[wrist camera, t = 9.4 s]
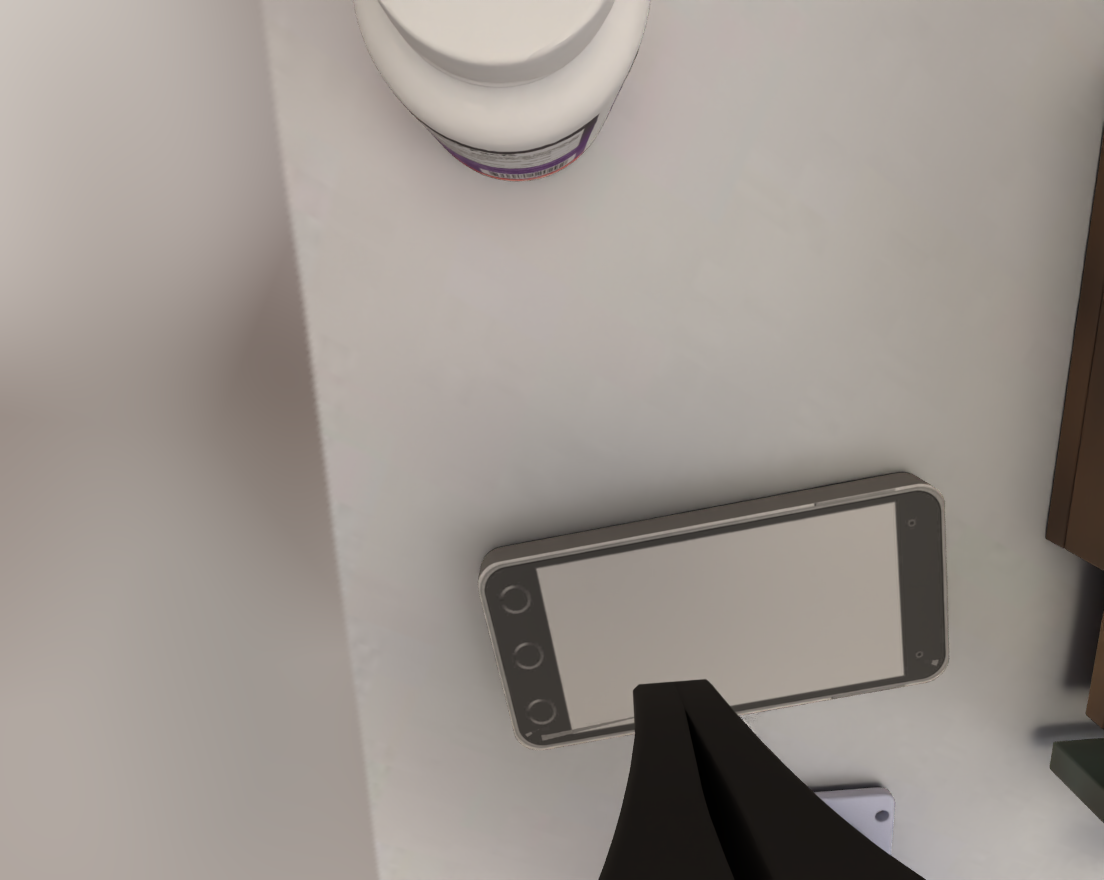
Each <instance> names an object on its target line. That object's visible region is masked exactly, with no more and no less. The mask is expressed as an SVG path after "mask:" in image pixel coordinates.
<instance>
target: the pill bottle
mask: <svg viewBox="0 0 1104 880" xmlns="http://www.w3.org/2000/svg"><path fill="white" fill-rule="evenodd" d="M353 3H354V9H355V13H356V17H357V21H358V25H359V27H360V30H361V33H362V36H363V39H364V42H365V44H366V47H367V49H368V51H369V54H370V56H371V58H372V60H373V62H374V64H375V65H376V67H377V69H378V71H379V72H380V74H381V76H382V77H383V79H384V80H385V82H386V83H387V84H388V86H389V87H390V89H391V90H392V91H393V93H394V94H395V95H396V97H397V98H398V99H399V100H400V101H401V102H402V104H403V105H404V106H405V107H406V108H407V109H408V110H409V111H410V112H411V113H412V114H413V115H414V116H415V117H416V118H417V119H418V120H419V121H420V122H421V123H422V124H423V125H424V126H425V127H426V128H427V129H428V130H429V131H430V132H431V134H432V135H433V136H434V137H435V138H436V139H437V140H438V141H439V142H440V143H441V144H442V145H443V146H444V147H445V148H446V149H447V150H448V151H449V152H450V153H451V154H452V155H453V156H454V157H455V158H457V159H458V160H459V161H460V162H462V163H463V164H465V165H466V166H468V167H470V168H471V169H473V170H475V171H477V172H479V173H481V174H483V175H486V176H489V177H491V178H495V179H499V180H505V181H531V180H536V179H541V178H544V177H547V176H550V175H552V174H554V173H556V172H558V171H560V170H562V169H564V168H565V167H567V166H568V165H570V164H571V163H572V162H574V161H575V160H576V159H577V158H578V157H580V155H581V154H582V153H583V152H584V151H585V150H586V149H587V148H588V147H589V146H590V145H591V143H592V142H593V141H594V139H595V138H596V136H597V135H598V133H599V131H600V130H601V128H602V126H603V124H604V122H605V120H606V118H607V116H608V114H609V112H610V110H611V108H612V106H613V104H614V102H615V100H616V98H617V95H618V93H619V91H620V90H621V88H622V85H623V83H624V81H625V79H626V77H627V75H628V73H629V72H630V69H631V67H632V65H633V62H634V60H635V58H636V56H637V53H638V50H639V46H640V44H641V41H642V38H643V34H644V30H645V27H646V23H647V18H648V13H649V8H650V0H353Z"/></svg>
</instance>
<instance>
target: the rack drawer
mask: <svg viewBox="0 0 1104 880" xmlns="http://www.w3.org/2000/svg"><path fill="white" fill-rule="evenodd" d="M1086 715H1087V716H1088V717H1089V718H1090V719H1091V720H1092V721H1094V722H1095V723H1096V724H1097V725H1098V726H1100V727H1101V728H1102V729H1104V611H1103V617H1102V622H1101V628H1100V634H1099V640H1098V645H1097V651H1096V657H1095V662H1094V668H1093V674H1092V680H1091V685H1090V691H1089V697H1088V702H1087V708H1086ZM1050 769H1051V770H1052V771H1053V772H1054V773H1055V774H1056V775H1057V776H1058V777H1059V778H1060V779H1061V780H1062V782H1063V783H1064V784H1065V785H1066V786H1067V787H1068V788H1069V789H1070V790H1071V791H1072V792H1073V793H1074V794H1075V795H1076V796H1077V797H1078V798H1079V799H1080V800H1081V801H1082V802H1083V803H1084V804H1085V805H1086V806H1087V807H1088V808H1089V809H1090V810H1091V811H1092V812H1093V813H1094V814H1095V815H1096V816H1097V817H1098V818H1099V819H1100V820H1101V821H1102V822H1103V823H1104V738H1098V739H1085V740H1072V741H1059V742H1054V743H1053V749H1052V755H1051V761H1050Z"/></svg>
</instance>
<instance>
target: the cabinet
mask: <svg viewBox="0 0 1104 880" xmlns="http://www.w3.org/2000/svg"><path fill="white" fill-rule="evenodd" d="M1046 539H1047V540H1049V541H1051V542H1053V543H1054V544H1056V545H1058V546H1060V547H1062V548H1065V549H1066V550H1068V551H1069V552H1071V553H1073V554H1075V555H1076V556H1078V557H1080V558H1082V559H1083V560H1085V561H1087V562H1089V563H1091V564H1092V565H1094V566H1096V567H1098V568H1099V569H1101V570H1103V571H1104V134H1103V141H1102V148H1101V155H1100V162H1099V169H1098V176H1097V183H1096V190H1095V197H1094V204H1093V211H1092V218H1091V225H1090V232H1089V239H1088V246H1087V253H1086V260H1085V267H1084V274H1083V281H1082V288H1081V295H1080V302H1079V309H1078V316H1077V323H1076V330H1075V337H1074V344H1073V351H1072V358H1071V365H1070V372H1069V379H1068V386H1067V393H1066V400H1065V407H1064V414H1063V421H1062V428H1061V435H1060V442H1059V449H1058V456H1057V463H1056V470H1055V477H1054V484H1053V491H1052V498H1051V505H1050V512H1049V519H1048V526H1047V533H1046Z"/></svg>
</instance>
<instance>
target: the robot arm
mask: <svg viewBox="0 0 1104 880" xmlns="http://www.w3.org/2000/svg"><path fill="white" fill-rule="evenodd" d="M633 706H634V726H635V739H634V746H633V753H632V760H631V767H630V773H629V778H628V782H627V786H626V791H625V795H624V799H623V804H622V808H621V812H620V816H619V819H618V823H617V826H616V830H615V833H614V836H613V840H612V843H611V846H610V849H609V852H608V855H607V858H606V861H605V864H604V866H603V869H602V872H601V874H600V877H599V880H926V879H924V878H923V877H921V876H920V875H918V874H917V873H915V872H914V871H912V870H911V869H910V868H908V867H907V866H905V865H904V864H902V863H901V862H899V861H898V860H896V859H895V858H894V857H892V856H891V851H892V839H893V827H894V815H895V799H894V797H893V796H892V794H891V793H890V791H889V790H888V789H886V788H882V787H876V788H863V789H850V790H837V791H824V792H813V791H812V790H811V789H810V788H809V787H807V786H806V785H805V784H804V783H803V782H802V781H801V780H800V779H799V778H798V777H797V776H796V775H795V774H794V773H793V772H792V771H791V770H790V769H789V768H787V767H786V766H785V765H784V764H783V763H782V761H781V760H780V759H779V758H778V757H777V756H776V755H775V754H774V753H773V752H772V751H771V750H770V749H769V748H768V747H767V746H766V745H765V744H764V743H763V742H762V741H761V740H760V739H759V738H758V737H757V736H756V735H755V733H754V732H753V731H752V730H751V729H750V728H749V727H748V726H747V725H746V724H745V722H744V721H743V720H742V719H741V718H740V717H739V716H738V715H737V713H736V712H735V711H734V710H733V709H732V708H731V706H730V705H729V704H728V703H727V702H726V701H725V699H724V698H723V697H722V696H721V695H720V693H719V692H718V691H717V690H716V688H715V687H714V686H713V685H712V684H711V683H710V682H709V681H708V680H707V679H699V680H687V681H674V682H661V683H648V684H638V685H637V686H636V687H635V688H634V689H633ZM879 811H881V812H879ZM877 812H878V813H877Z"/></svg>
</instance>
